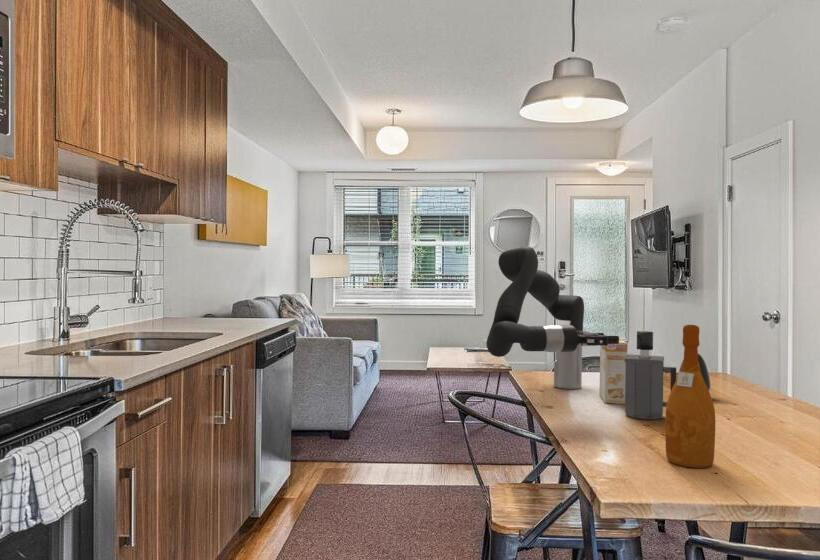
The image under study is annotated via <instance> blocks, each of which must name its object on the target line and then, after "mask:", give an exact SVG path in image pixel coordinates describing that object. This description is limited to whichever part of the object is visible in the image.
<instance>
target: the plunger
mask: <svg viewBox="0 0 820 560" xmlns="http://www.w3.org/2000/svg"><path fill="white" fill-rule="evenodd" d="M636 349H637V350H639V352H640V353H639V355H640V358H649V356H650V351H653V350H654V331H649V330H648V331H647V330H638V331H636Z"/></svg>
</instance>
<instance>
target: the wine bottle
mask: <svg viewBox="0 0 820 560" xmlns="http://www.w3.org/2000/svg"><path fill="white" fill-rule="evenodd" d="M700 330H701V329H700V327H699V326H698V325H695V324H686V325H684V326H683V328H682V343H681V344H682V345H683V347H684V350H683V360H682V361H683V363H682V362H681V364H682V365H681V364H680V366H681V371H680V372H679V371H678V373H679V375H678V374H677V377H676V382H675V384H674V386H673V388H672V390H671V389H670V392H669V393H670V394H669V396H668V399H667V401H666V402H667V405H666V407H665V417H664V418H665V422H664V423H665V427H664V428H665V429H664V430H665V435H664V436H665V439H664V440H665V455H666V456H665V457H666V459H667V461H669V462H670V463H673V464H675V465H677V466H680V467H686V468H690V469H691V468H692V469H705V468H709V467H711V466H712V465H713V464H714V460H715V452H716V451H715V448H716V410H715V406H714V402H713V398H712V395H711V393H710V389H709V390H708V388H707V386H706V384H705V381H704V379H703V377H702V374H701V372H700V365H699V362H698V354H699V351H698V350H699V349H698V347H700V344H701V343H700Z"/></svg>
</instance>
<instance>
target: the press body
mask: <svg viewBox="0 0 820 560" xmlns="http://www.w3.org/2000/svg"><path fill="white" fill-rule="evenodd" d="M625 362H626V374H625V404H624V413H625V416H626V417H628V418H631V419H634V420H635V419H636V420H640V421H641V420H642V421H660V420H663V418H664V408H666V405H667V401H665V400H664V373H665V372H667V373H670V391H671V390H672V388H673V386H674V384H675V382H676V380H677V367H675V366H664V364H665V363H664V362H665V356H663V355H661V356H660V355H649V358H640V354H629V353H627V356H626V357H625Z"/></svg>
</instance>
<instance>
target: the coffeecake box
mask: <svg viewBox="0 0 820 560" xmlns="http://www.w3.org/2000/svg"><path fill="white" fill-rule="evenodd" d="M600 342H602V341H600ZM628 344H629V343H628V342H626V341H625V340H623V339H622V338H619V343H618V344H608V345H606V346H605V345H599V391H598V392H599V394H598V395H599V396H600V397H601V400H603V403H604V404H613V405H615V404H617V405H625V374H626V362H625V357H626V356H627V355H628Z"/></svg>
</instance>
